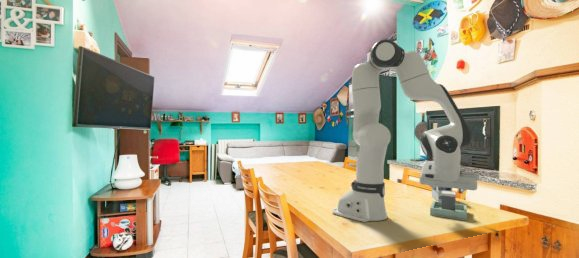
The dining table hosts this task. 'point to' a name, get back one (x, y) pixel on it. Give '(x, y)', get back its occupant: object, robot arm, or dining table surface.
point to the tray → (449, 211)
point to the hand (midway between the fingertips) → (447, 190)
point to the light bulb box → (440, 192)
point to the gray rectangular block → (448, 200)
